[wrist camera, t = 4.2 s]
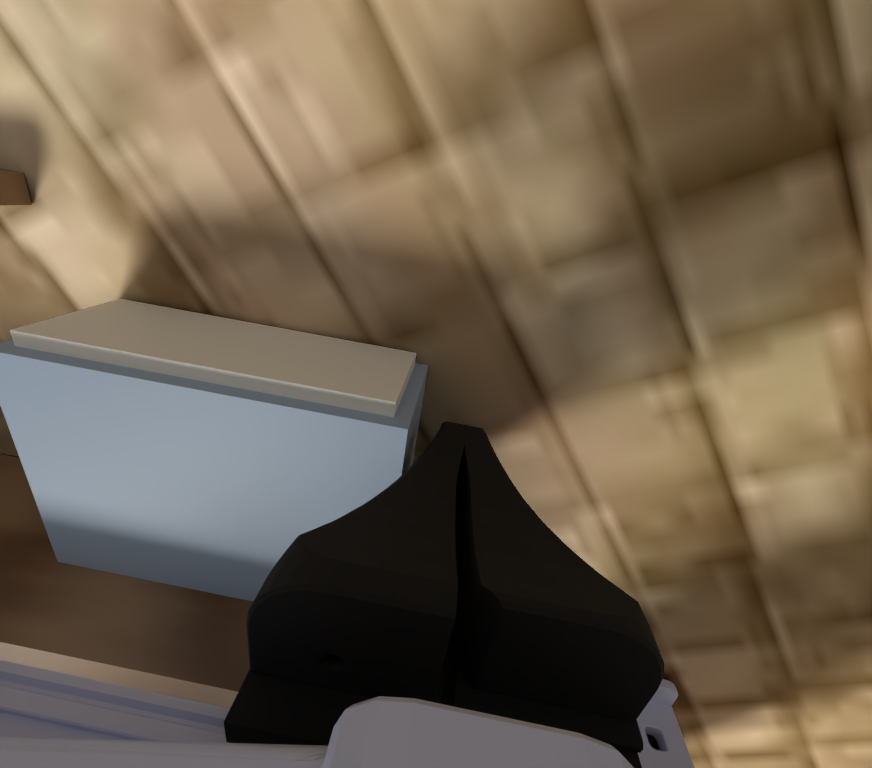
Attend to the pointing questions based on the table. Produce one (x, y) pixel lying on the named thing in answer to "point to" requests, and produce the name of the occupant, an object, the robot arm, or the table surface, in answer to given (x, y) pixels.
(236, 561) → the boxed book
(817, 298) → the table surface
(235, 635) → the shelf
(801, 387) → the table surface
